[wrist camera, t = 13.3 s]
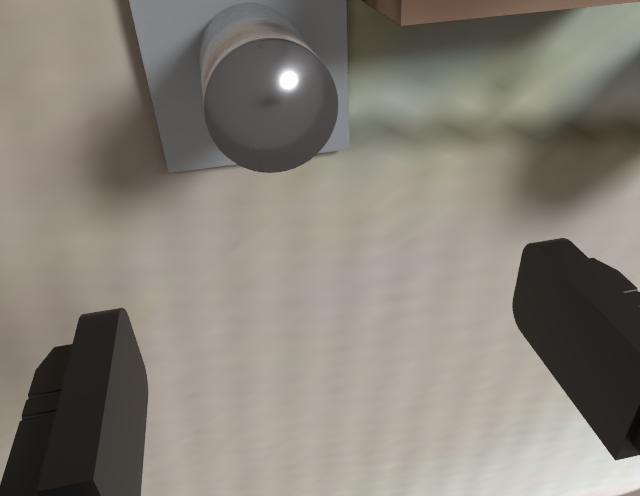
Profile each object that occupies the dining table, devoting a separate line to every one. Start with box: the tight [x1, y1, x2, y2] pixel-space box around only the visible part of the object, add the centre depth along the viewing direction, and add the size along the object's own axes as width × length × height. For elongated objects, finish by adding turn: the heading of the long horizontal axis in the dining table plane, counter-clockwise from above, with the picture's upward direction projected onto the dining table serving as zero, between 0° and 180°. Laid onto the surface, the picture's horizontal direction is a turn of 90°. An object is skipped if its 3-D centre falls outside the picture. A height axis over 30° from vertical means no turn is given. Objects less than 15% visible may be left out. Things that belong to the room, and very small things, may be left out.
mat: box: [129, 0, 350, 173], centre depth 27 cm, size 11×10×1 cm
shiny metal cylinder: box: [199, 2, 338, 173], centre depth 24 cm, size 5×5×8 cm
